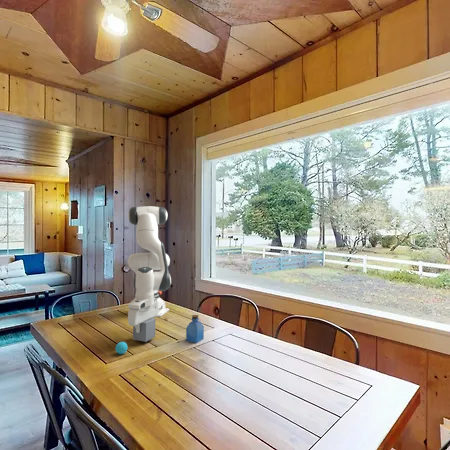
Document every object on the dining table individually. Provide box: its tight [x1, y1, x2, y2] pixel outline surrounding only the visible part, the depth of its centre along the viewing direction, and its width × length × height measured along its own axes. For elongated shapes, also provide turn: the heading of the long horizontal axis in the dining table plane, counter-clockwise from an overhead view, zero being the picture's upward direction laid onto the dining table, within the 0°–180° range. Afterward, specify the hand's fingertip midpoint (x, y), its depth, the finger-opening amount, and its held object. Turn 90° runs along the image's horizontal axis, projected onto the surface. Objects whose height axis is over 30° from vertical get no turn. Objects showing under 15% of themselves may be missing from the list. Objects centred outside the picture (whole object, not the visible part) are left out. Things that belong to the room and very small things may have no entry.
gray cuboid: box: [132, 318, 156, 343], centre depth 148 cm, size 8×8×9 cm
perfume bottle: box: [185, 314, 205, 344], centre depth 151 cm, size 6×6×12 cm
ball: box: [115, 341, 129, 355], centre depth 134 cm, size 5×5×5 cm
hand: (144, 329), depth 148 cm, fingers closed on gray cuboid, 8 cm apart
